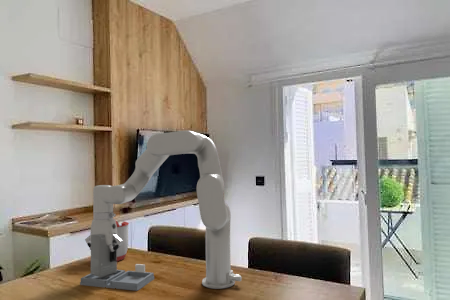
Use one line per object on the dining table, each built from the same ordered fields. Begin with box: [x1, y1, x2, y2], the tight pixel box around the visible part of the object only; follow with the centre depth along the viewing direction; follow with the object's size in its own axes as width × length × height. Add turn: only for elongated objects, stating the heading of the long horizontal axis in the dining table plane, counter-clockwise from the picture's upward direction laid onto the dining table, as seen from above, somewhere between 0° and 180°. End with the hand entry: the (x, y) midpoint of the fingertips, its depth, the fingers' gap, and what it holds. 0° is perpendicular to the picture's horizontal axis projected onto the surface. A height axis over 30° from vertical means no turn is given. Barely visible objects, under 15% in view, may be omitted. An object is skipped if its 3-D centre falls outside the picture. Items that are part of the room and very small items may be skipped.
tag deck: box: [79, 263, 155, 291], centre depth 139 cm, size 25×13×6 cm, turn 74°
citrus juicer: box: [113, 217, 130, 262], centre depth 171 cm, size 16×17×20 cm
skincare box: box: [90, 235, 118, 277], centre depth 141 cm, size 8×7×16 cm
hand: (103, 260), depth 140 cm, fingers closed on skincare box, 7 cm apart
